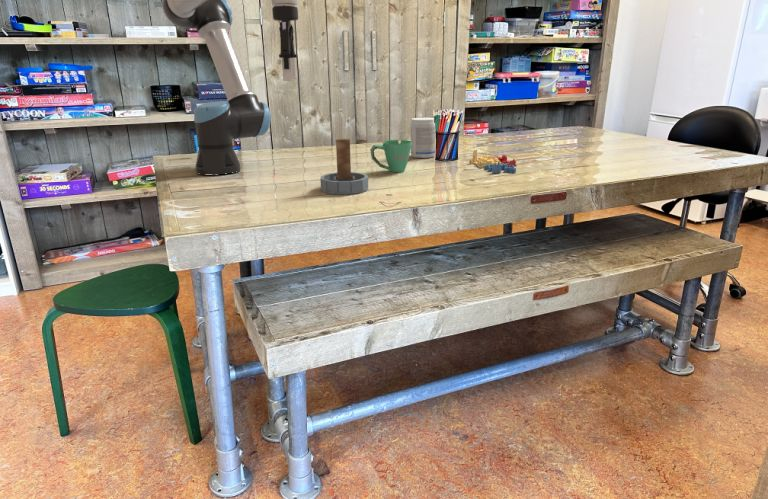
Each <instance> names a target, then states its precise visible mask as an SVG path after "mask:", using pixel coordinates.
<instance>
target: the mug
mask: <svg viewBox="0 0 768 499" xmlns="http://www.w3.org/2000/svg"><path fill="white" fill-rule="evenodd" d="M411 145H412V142H411V140H406V139H405V140H404V139H401V140H400V142H399V140H398V139H389V140H384V141H382V145H381V144H373V145H372V146H371V147H370V157H371V160H373V162H374V163H376V165H377V166H379V167H380V168H382V169H384V170H388V171H390V173H403V172H405V171H406V168H407V164H408V162H409V159H410V155H411ZM377 149H378V150H383V151H384V155H385V160H386V162H387V165H385V164H382V163H381V162H380V161H379V160H378V159H377V158H376V156H375V151H376V150H377Z"/></svg>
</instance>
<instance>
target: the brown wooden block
mask: <svg viewBox="0 0 768 499" xmlns="http://www.w3.org/2000/svg"><path fill="white" fill-rule="evenodd" d="M335 145H336V146H335V147H336V148H335V149H336V150H335V152H336V172H337V178H338V179H351V172H352V166H351V164H352V163H351V160H352V159H351V139H350V138H336V139H335Z"/></svg>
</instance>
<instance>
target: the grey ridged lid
mask: <svg viewBox="0 0 768 499" xmlns="http://www.w3.org/2000/svg"><path fill="white" fill-rule="evenodd" d="M335 176H337V171H336V172H330V173H326V174H325V173H324V174H322V175H321V176H320V178H319V179H320V180H319V181H320V191H321V192H322V193H324V194H327V195H335V196H337V195H338V196H349V195H359V194H362V193H364V192H367V191H368V190H369V176H368V174H366V173H364V172H363V173H362V172H357V171H356V172H355V171H351V176H355V180H353V181H334V177H335Z"/></svg>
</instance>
